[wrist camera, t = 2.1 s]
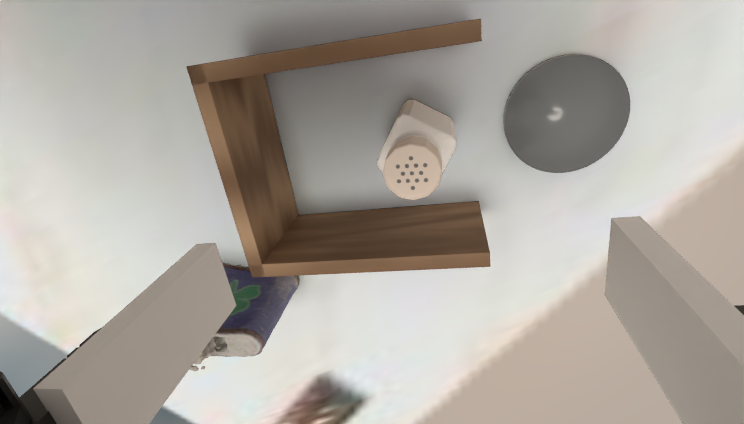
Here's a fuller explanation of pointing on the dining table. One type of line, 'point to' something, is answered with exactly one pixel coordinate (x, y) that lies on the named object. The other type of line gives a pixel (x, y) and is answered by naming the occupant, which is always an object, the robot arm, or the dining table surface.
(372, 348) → the dining table surface
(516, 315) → the dining table surface
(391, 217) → the wooden u-shaped frame
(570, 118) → the slate coaster
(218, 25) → the dining table surface
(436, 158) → the pepper shaker
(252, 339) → the flask
